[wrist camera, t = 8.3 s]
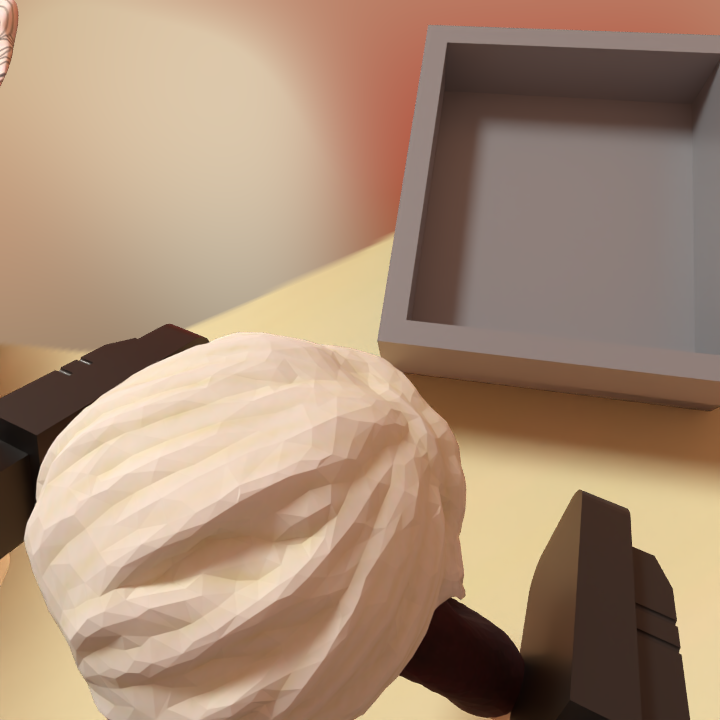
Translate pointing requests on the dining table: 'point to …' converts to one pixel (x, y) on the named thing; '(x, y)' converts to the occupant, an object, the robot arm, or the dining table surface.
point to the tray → (562, 215)
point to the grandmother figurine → (263, 540)
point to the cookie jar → (7, 34)
